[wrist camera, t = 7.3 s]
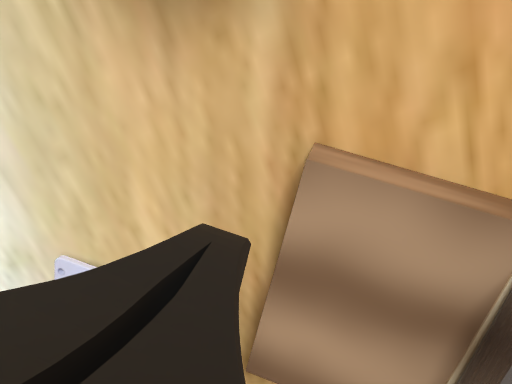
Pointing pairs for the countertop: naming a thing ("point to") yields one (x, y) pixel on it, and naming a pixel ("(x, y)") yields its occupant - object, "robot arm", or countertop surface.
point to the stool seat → (382, 276)
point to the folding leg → (493, 351)
